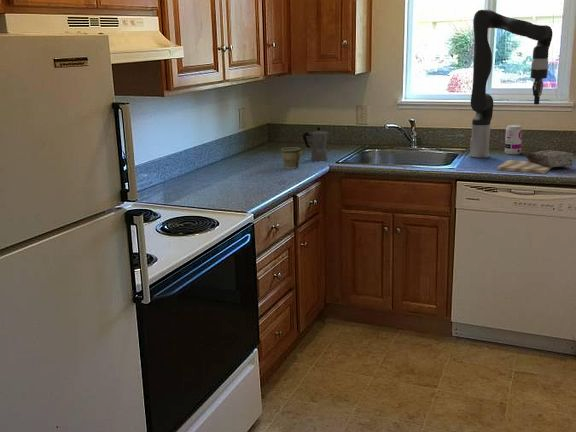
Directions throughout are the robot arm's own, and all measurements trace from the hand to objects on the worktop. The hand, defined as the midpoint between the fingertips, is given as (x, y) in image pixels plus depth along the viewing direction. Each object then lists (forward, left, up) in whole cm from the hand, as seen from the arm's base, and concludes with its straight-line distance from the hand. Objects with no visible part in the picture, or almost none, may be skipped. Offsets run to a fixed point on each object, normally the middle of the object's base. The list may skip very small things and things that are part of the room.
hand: (536, 104), depth 309 cm
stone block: (+2, +1, -26) cm, 26 cm away
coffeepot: (-104, -38, -30) cm, 114 cm away
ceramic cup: (-104, -62, -30) cm, 124 cm away
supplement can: (-15, +23, -30) cm, 41 cm away
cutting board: (0, -15, -29) cm, 33 cm away
